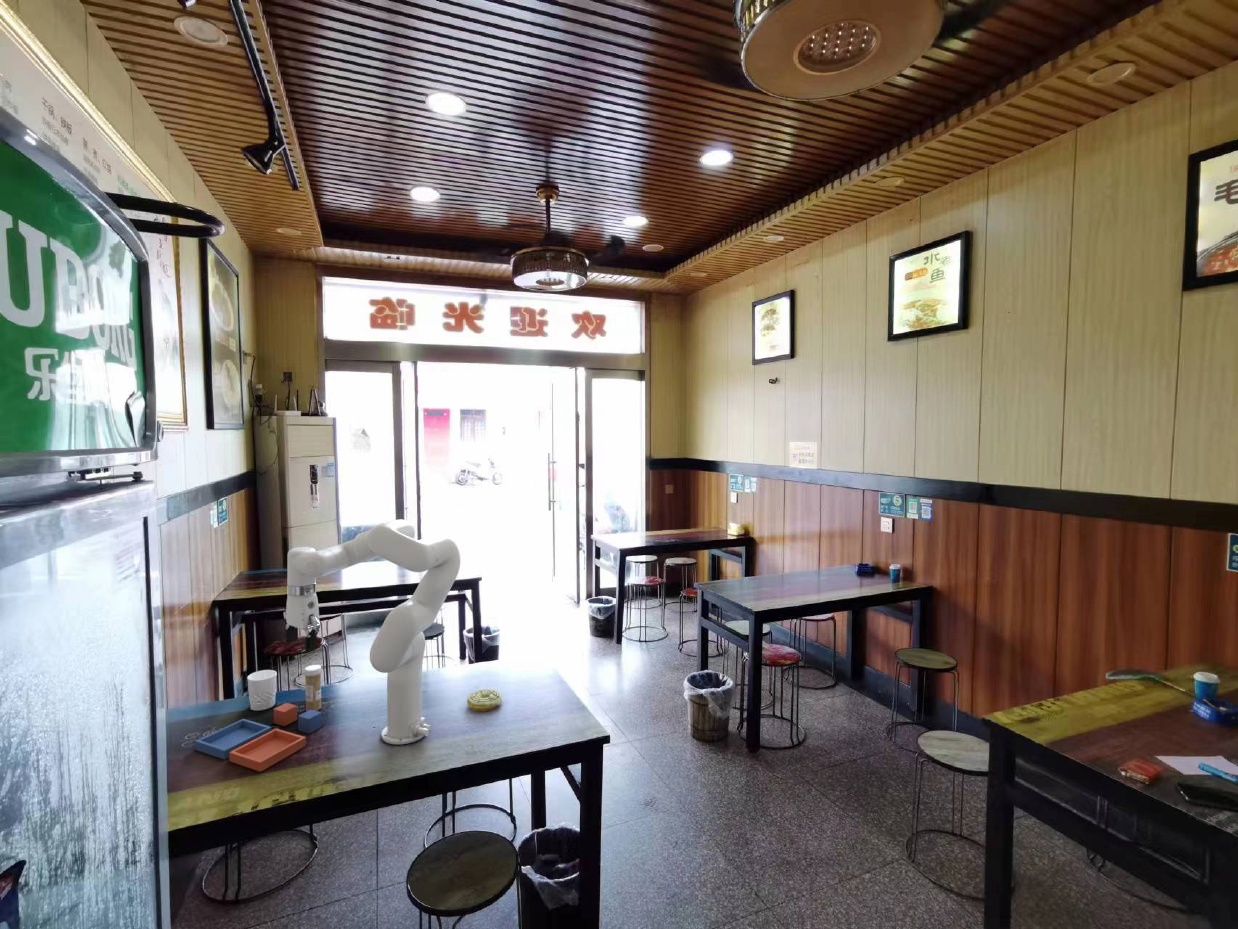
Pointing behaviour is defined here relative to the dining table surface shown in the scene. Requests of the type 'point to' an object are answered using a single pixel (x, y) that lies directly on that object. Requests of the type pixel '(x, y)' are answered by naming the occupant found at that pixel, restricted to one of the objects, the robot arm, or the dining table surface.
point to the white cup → (262, 689)
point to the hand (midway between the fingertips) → (301, 645)
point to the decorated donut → (484, 700)
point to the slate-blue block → (309, 721)
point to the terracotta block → (285, 714)
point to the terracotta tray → (267, 749)
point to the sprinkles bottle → (313, 687)
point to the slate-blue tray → (231, 738)
